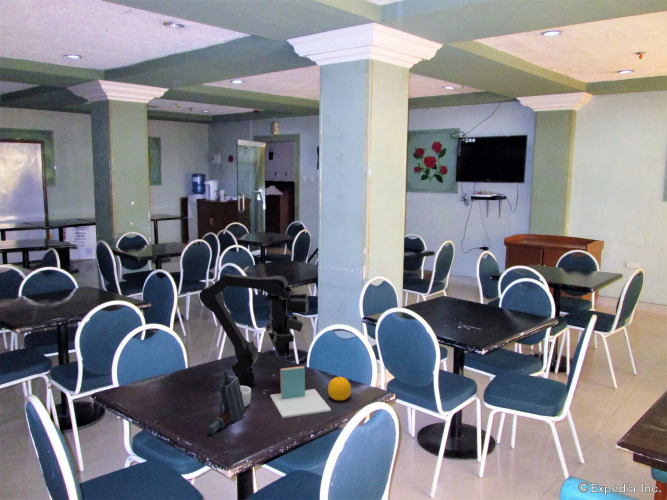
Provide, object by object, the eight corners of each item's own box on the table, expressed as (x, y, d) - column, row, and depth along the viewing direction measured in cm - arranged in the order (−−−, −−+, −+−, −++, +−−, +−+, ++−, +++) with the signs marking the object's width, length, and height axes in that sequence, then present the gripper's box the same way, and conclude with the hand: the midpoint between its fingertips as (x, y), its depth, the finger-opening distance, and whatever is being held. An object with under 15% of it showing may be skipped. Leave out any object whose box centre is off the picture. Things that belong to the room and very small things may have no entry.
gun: (197, 392, 154) (230, 364, 166) (209, 440, 160) (240, 409, 172) (204, 394, 153) (237, 365, 165) (216, 442, 159) (247, 411, 171)
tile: (282, 399, 182) (281, 370, 181) (280, 396, 184) (280, 368, 183) (305, 396, 185) (304, 367, 183) (303, 393, 187) (303, 366, 185)
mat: (282, 418, 169) (282, 416, 169) (270, 396, 186) (270, 394, 186) (331, 411, 174) (331, 409, 174) (314, 390, 191) (314, 389, 191)
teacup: (236, 399, 184) (236, 384, 183) (255, 403, 180) (255, 387, 180) (218, 410, 175) (218, 394, 174) (238, 415, 171) (238, 398, 171)
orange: (348, 404, 180) (348, 382, 179) (325, 402, 181) (325, 380, 180) (352, 394, 187) (352, 374, 186) (330, 393, 189) (330, 372, 188)
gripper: (308, 316, 184) (308, 360, 186) (294, 304, 202) (294, 345, 204) (276, 319, 181) (276, 364, 183) (264, 307, 198) (265, 348, 200)
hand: (279, 355), depth 193 cm, fingers open, 3 cm apart
